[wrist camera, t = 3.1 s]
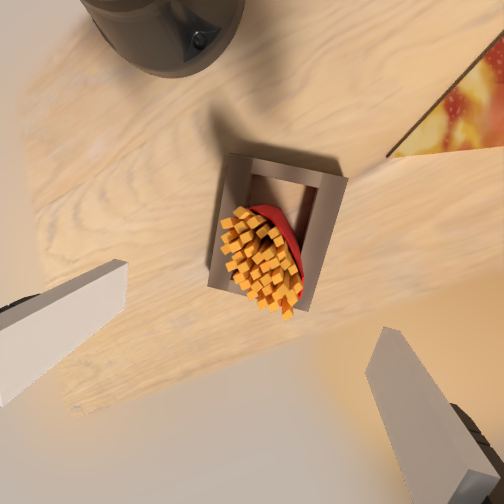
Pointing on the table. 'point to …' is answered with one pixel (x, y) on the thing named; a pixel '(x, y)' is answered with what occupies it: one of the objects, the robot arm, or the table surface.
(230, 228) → the french fries
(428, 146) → the pizza slice
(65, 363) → the table surface
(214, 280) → the fry holder
